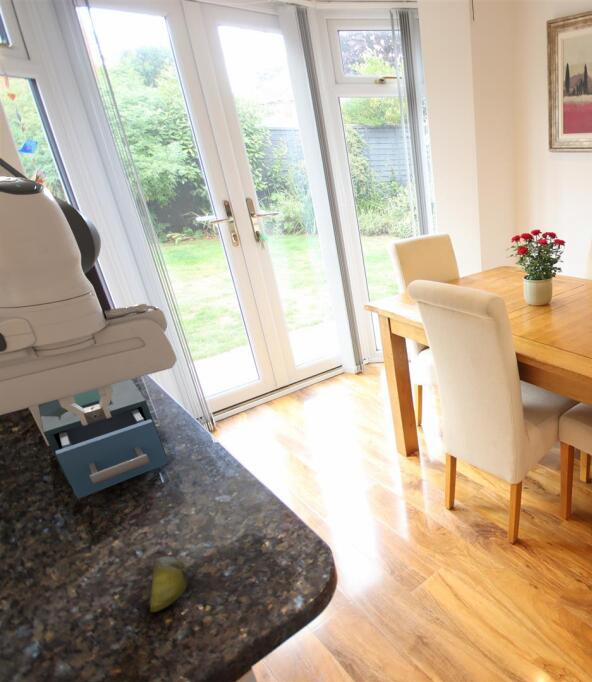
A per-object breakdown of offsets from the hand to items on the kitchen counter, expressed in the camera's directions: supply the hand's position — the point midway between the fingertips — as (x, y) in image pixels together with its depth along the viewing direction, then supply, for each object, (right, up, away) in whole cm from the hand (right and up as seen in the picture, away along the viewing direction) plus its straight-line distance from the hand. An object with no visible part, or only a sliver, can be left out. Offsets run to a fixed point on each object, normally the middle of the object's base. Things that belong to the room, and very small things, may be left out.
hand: (97, 420), depth 60 cm
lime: (+18, -17, -11) cm, 27 cm away
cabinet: (-10, -8, +14) cm, 19 cm away
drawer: (-3, -9, +8) cm, 12 cm away
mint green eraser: (-12, +1, +12) cm, 17 cm away
